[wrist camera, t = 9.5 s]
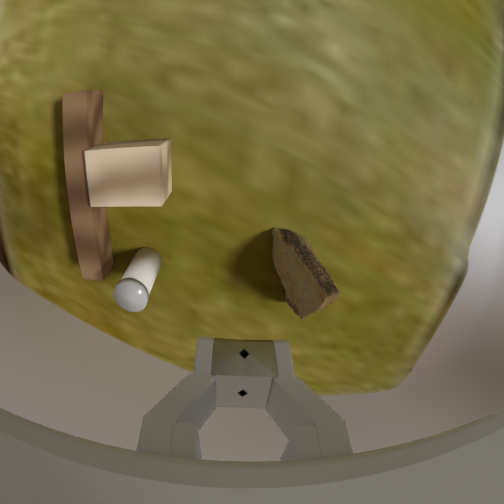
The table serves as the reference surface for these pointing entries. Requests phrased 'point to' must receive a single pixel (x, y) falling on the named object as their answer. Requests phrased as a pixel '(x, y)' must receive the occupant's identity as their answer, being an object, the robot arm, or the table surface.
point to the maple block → (129, 173)
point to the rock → (301, 273)
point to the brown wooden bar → (85, 182)
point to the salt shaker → (138, 280)
